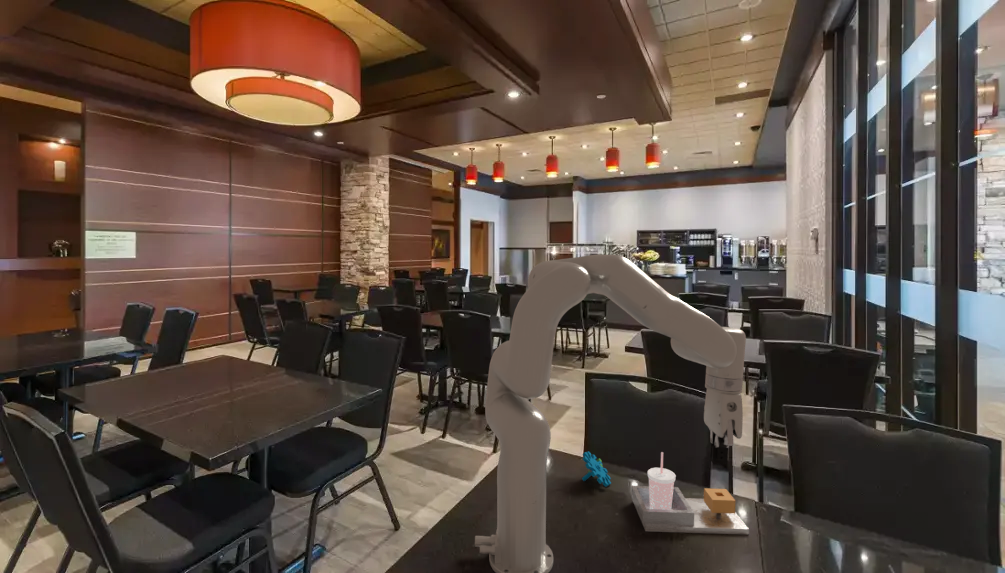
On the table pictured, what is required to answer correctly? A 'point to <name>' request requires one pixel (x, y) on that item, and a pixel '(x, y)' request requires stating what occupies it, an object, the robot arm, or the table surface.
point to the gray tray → (684, 515)
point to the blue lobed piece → (595, 469)
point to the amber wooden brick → (719, 500)
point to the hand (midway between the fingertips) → (718, 462)
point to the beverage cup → (661, 487)
